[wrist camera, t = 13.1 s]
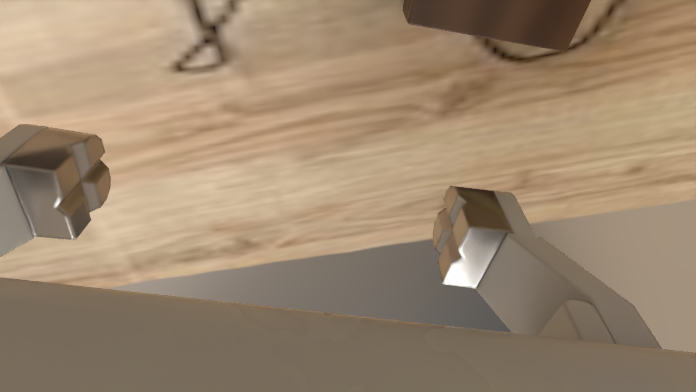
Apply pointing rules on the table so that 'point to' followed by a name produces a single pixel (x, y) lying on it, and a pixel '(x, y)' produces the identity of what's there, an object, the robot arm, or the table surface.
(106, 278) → the table surface
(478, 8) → the desk riser
